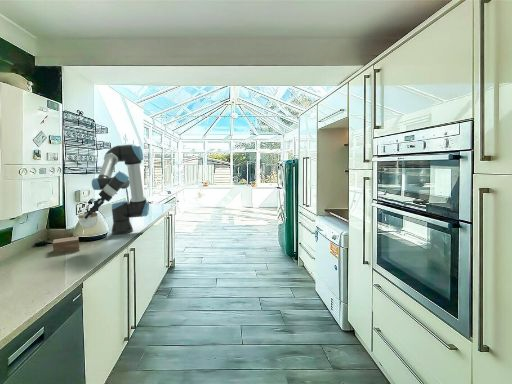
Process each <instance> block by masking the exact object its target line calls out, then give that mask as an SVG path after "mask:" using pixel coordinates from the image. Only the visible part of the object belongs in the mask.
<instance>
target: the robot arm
mask: <svg viewBox="0 0 512 384" xmlns="http://www.w3.org/2000/svg"><path fill="white" fill-rule="evenodd" d="M143 160H144V154H143V149H142V147H141V146H140V144H133V143H132V144H122V145H115V146H112V147H111V148H110V149H109V150H107V151H106V152H105V155H104V157H103V163H102V167H101V168H100V171H99V174H98V175H97V177H96V178H92V179H91V187H92V189H93V190H94V191H99V193H98V195H99V196H100V198H97V200H96V201H95V202H94V203H93V204H94V205H92V207H91V208H90V209H89V210H87V211H86V212H85V213H84V214H85V216H84V217H83V218H82V219H81V220H80V222H82V223H83V224H84V223H85V222H86V220H87V219H88V218H89V217H90V216H91V215H92V213H96V212H97V210H98V208H100V207H101V206H102V205H103V204H104V203H105V201H106V202H110V201H111V200H112V199H113V197H114V196H115V195H118V192H119V191H120V189H122V190H125V189H127V188H129V189H130V195H131V196H130V197H131V198H130V199H129V200H127V199H126V200H122V201H121V200H120V201H117V202H113V203H112V204H111V212H112V213H111V214H112V222H113V223H112V227H111V234H112V235H122V234H123V235H124V234H127V233H128V234H129V233H132V232H133V231H134V228H133V225H132V224H131V220H130V218H142V217H147V216H148V215H149V210H150V202H149V200H147V198H146V196H145V195H144V190H143V189H144V188H143V181H142V180H143V179H142V174H141V167H140V166H141V164H142V161H143ZM121 162H124V165H125V166H126V167H127V173H128V174H126V173H125V172H124V171H122V170H118V172H116V173H115V175H114V176H112V175H113V172H114V169H115V166H116V165H117V164H118V163H121Z"/></svg>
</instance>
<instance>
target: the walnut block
mask: <svg viewBox="0 0 512 384" xmlns="http://www.w3.org/2000/svg"><path fill="white" fill-rule="evenodd" d="M52 240H53V241H52V249H53V250H52V251H53V255H60V253H61V254H68V253H72V252H74V251H75V252H80V249H79V248H80V240H79V236H71V237H69V236H68V237H63V238H62V237H61V238H55V239H52ZM67 252H68V253H67ZM75 252H74V253H75Z"/></svg>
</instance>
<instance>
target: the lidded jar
mask: <svg viewBox="0 0 512 384" xmlns="http://www.w3.org/2000/svg"><path fill="white" fill-rule="evenodd" d="M85 214H86V213H83V214H79V215H77V218H78V222H79V225H80V226H81V227H82V228H83V229H91V228H95V227H96V225H97V223H98V213H94V212H93V213H92V215H91V216H90V217H89V218H88V219H87V220H86V222H85V223H84V224H83V223H82V222H80V220H81V219H82V218H83V217H84V216H85Z"/></svg>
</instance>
